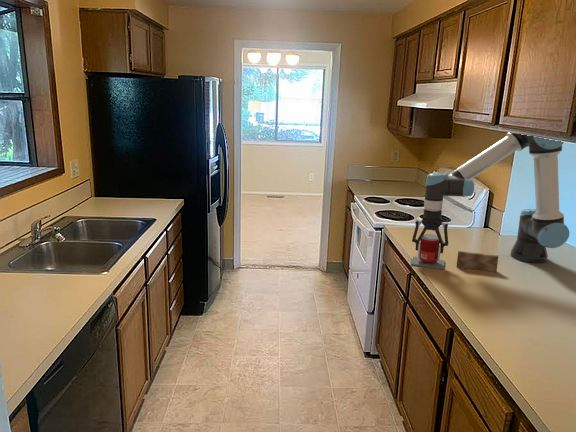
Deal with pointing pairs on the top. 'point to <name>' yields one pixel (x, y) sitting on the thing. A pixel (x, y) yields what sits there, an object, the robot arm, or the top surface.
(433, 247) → the canned food
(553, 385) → the top surface
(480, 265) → the walnut screen
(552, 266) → the top surface
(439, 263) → the slate mat
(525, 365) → the top surface
